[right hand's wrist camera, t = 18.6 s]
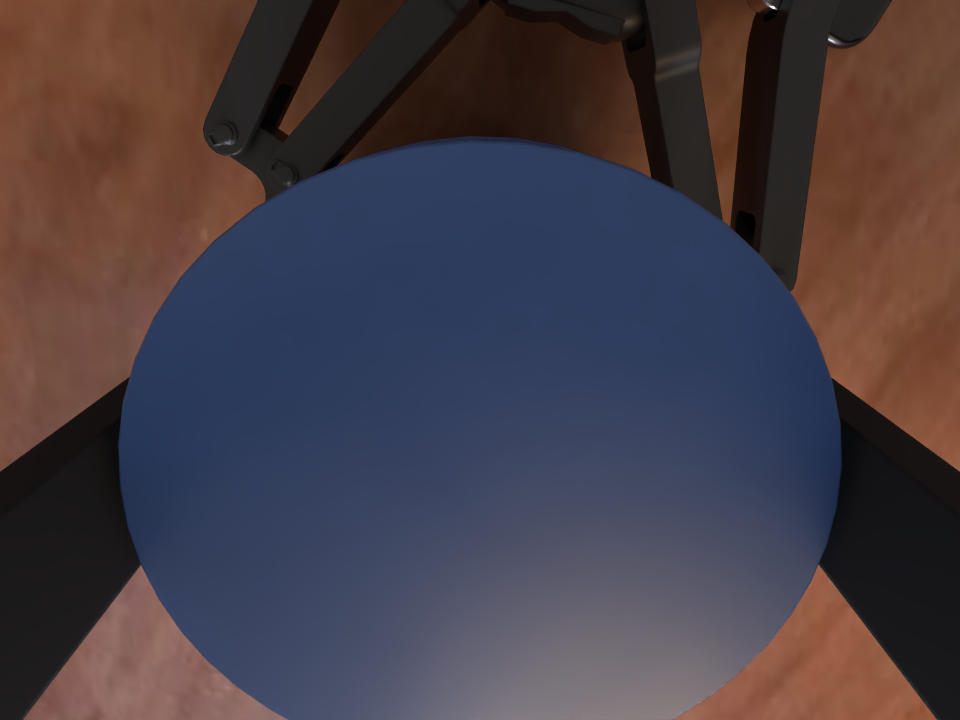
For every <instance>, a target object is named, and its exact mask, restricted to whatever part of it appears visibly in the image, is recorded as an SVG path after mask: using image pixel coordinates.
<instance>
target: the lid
mask: <svg viewBox="0 0 960 720" xmlns="http://www.w3.org/2000/svg"><path fill="white" fill-rule="evenodd" d="M118 455H119V479H120V490H121V495H122V500H123V505H124V511H125V516H126V521H127V526H128V529H129V532H130V535H131V538H132V540H133V543H134V546H135V549H136V552H137V555H138V558H139V560H140V563H141V565H142V567H143V569H144V571H145V573H146V575H147V577H148V579H149V581H150V583H151V585H152V587H153V589H154V591H155V593H156V595H157V597H158V599H159V600H160V602H161V603H162V605H163V606H164V607H165V609H166V610H167V612H168V613H169V615H170V616H171V618H172V619H173V620H174V622H175V623H176V625H177V626H178V628H179V629H180V630H181V632H182V633H183V634H184V635H185V636H186V637H187V639H188V640H189V641H190V642H191V643H192V644H193V645H194V646H195V647H196V649H197V650H198V651H199V652H200V653H201V654H202V655H203V656H204V658H205V659H206V660H207V661H208V662H209V663H211V664H212V665H213V666H214V667H215V668H216V669H217V670H218V671H220V672H221V673H222V674H223V675H224V676H225V677H226V678H228V679H229V680H230V681H231V682H232V683H233V684H234V685H235V686H237V687H238V688H239V689H241V690H242V691H244V692H245V693H247V694H248V695H249V696H251V697H252V698H254V699H255V700H257V701H258V702H259V703H261V704H262V705H264V706H265V707H267V708H268V709H270V710H272V711H273V712H275V713H277V714H279V715H281V716H282V717H284V718H286V719H288V720H673V719H675V718H677V717H678V716H680V715H681V714H683V713H685V712H686V711H688V710H689V709H691V708H693V707H694V706H696V705H697V704H699V703H701V702H702V701H704V700H705V699H707V698H709V697H710V696H711V695H712V694H714V693H715V692H716V691H717V690H719V689H720V688H721V687H723V686H724V685H725V684H726V683H728V682H729V681H730V680H731V679H733V678H734V677H735V676H736V675H738V674H739V673H740V672H741V671H742V670H743V669H744V668H745V667H746V666H747V665H748V664H749V663H750V662H751V661H752V660H753V659H754V658H755V657H756V656H757V655H758V654H759V653H760V652H761V651H762V650H763V649H764V648H765V647H766V646H767V645H768V644H769V642H770V641H771V640H772V639H773V637H774V636H775V635H776V633H777V632H778V631H779V630H780V628H781V627H782V626H783V625H784V623H785V622H786V621H787V619H788V618H789V617H790V616H791V614H792V612H793V611H794V609H795V607H796V606H797V604H798V602H799V601H800V599H801V597H802V596H803V594H804V592H805V591H806V589H807V587H808V586H809V584H810V582H811V580H812V578H813V576H814V573H815V571H816V569H817V566H818V564H819V562H820V559H821V557H822V555H823V552H824V550H825V548H826V545H827V542H828V538H829V535H830V531H831V527H832V524H833V520H834V516H835V512H836V509H837V503H838V495H839V486H840V478H841V469H842V453H841V426H840V419H839V414H838V409H837V403H836V398H835V393H834V388H833V383H832V379H831V376H830V373H829V371H828V368H827V365H826V362H825V360H824V357H823V354H822V351H821V349H820V346H819V343H818V341H817V338H816V336H815V334H814V332H813V331H812V329H811V327H810V325H809V323H808V322H807V320H806V318H805V316H804V314H803V313H802V311H801V309H800V307H799V305H798V304H797V302H796V300H795V298H794V297H793V295H792V294H791V293H790V291H789V290H788V289H787V288H786V286H785V285H784V284H783V283H782V281H781V280H780V279H779V277H778V276H777V275H776V274H775V272H774V271H773V270H772V269H771V267H770V266H769V265H768V263H767V262H766V261H765V260H764V258H763V257H762V256H761V255H759V254H758V253H757V252H756V251H755V250H754V249H753V248H752V247H751V246H750V245H749V244H748V243H747V242H746V241H744V240H743V239H742V238H741V237H740V236H739V235H738V234H737V233H736V232H735V231H734V230H733V229H732V228H731V227H729V226H728V225H727V224H726V223H725V222H723V221H722V220H721V219H719V218H718V217H716V216H715V215H713V214H712V213H710V212H709V211H707V210H706V209H705V208H703V207H702V206H700V205H699V204H697V203H696V202H694V201H693V200H691V199H690V198H688V197H687V196H686V195H684V194H683V193H681V192H679V191H677V190H675V189H673V188H671V187H668V186H666V185H664V184H662V183H660V182H658V181H656V180H654V179H652V178H650V177H648V176H646V175H644V174H642V173H640V172H638V171H636V170H634V169H631V168H628V167H625V166H622V165H619V164H616V163H612V162H609V161H606V160H603V159H600V158H597V157H594V156H591V155H588V154H585V153H582V152H578V151H575V150H572V149H569V148H566V147H563V146H560V145H554V144H548V143H542V142H537V141H531V140H525V139H519V138H511V137H482V136H464V137H454V138H445V139H435V140H426V141H420V142H416V143H412V144H408V145H404V146H400V147H396V148H392V149H388V150H384V151H380V152H376V153H373V154H370V155H367V156H363V157H360V158H357V159H354V160H351V161H349V162H346V163H344V164H341V165H339V166H336V167H334V168H331V169H329V170H326V171H324V172H322V173H319V174H317V175H314V176H312V177H309V178H307V179H304V180H302V181H300V182H298V183H297V184H295V185H293V186H291V187H290V188H288V189H286V190H285V191H283V192H281V193H279V194H278V195H276V196H274V197H273V198H271V199H269V200H268V201H266V202H264V203H262V204H261V205H259V206H257V207H256V208H254V209H253V210H252V211H250V212H249V213H248V214H247V215H245V216H244V217H243V218H242V219H240V220H239V221H238V222H237V223H235V224H234V225H233V226H232V227H230V228H229V229H228V230H227V231H225V232H224V233H223V234H222V235H221V236H219V237H218V238H217V239H216V240H214V241H213V242H212V244H211V245H210V246H209V247H208V248H207V249H206V250H205V251H204V252H203V253H202V254H201V256H200V257H199V258H198V259H197V260H196V261H195V262H194V263H193V264H192V265H191V266H190V268H189V269H188V270H187V271H186V272H185V273H184V274H183V275H182V276H181V277H180V279H179V280H178V282H177V283H176V285H175V286H174V288H173V289H172V291H171V292H170V294H169V295H168V297H167V298H166V300H165V301H164V303H163V304H162V306H161V307H160V309H159V310H158V312H157V313H156V315H155V316H154V318H153V321H152V323H151V325H150V327H149V329H148V331H147V334H146V336H145V338H144V340H143V342H142V345H141V347H140V349H139V351H138V353H137V355H136V358H135V361H134V364H133V368H132V371H131V375H130V378H129V382H128V386H127V389H126V393H125V396H124V400H123V406H122V415H121V424H120V432H119V441H118Z"/></svg>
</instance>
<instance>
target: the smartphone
mask: <svg viewBox="0 0 960 720" xmlns="http://www.w3.org/2000/svg"><path fill="white" fill-rule="evenodd" d="M891 1H892V0H841V1H840V4H839V6H838V8H837V10H836V13H835V15H834V17H833V19H832V21H831V24H830V31H829V39H828V46H830V47H833V48H837V49H846V48H850V47H853V46H855V45H857V44H859V43H860V42H862V41H863V40H864V39H865V38H866V37H867V36H868V35H869V34H870V33H871V32H872V31H873V29H874V28H875V27H876V25H877V24H878V22H879V21H880V19H881V17H882V16H883V14H884V12H885V11H886V9H887V8H888V6H889V4H890V3H891Z"/></svg>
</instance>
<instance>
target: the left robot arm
mask: <svg viewBox="0 0 960 720" xmlns="http://www.w3.org/2000/svg"><path fill="white" fill-rule="evenodd" d="M489 1H490V0H407V1H406V2H405V3H404V4H403V5H402V6H401V8H400V9H399V10H398V11H397V12H396V13H395V14H394V16H393V17H392V18H391V19H390V20H389V21H388V23H387V24H386V25H385V26H384V27H383V28H382V29H381V31H380V32H379V33H378V34H377V35H376V36H375V38H374V39H373V40H372V41H371V42H370V43H369V44H368V46H367V47H366V48H365V49H364V50H363V51H362V53H361V54H360V55H359V56H358V57H357V58H356V59H355V61H354V62H353V63H352V64H351V65H350V66H349V67H348V69H347V70H346V71H345V72H344V73H343V74H342V76H341V77H340V78H339V79H338V80H337V81H336V82H335V84H334V85H333V86H332V87H331V88H330V89H329V91H328V92H327V93H326V94H325V95H324V96H323V97H322V99H321V100H320V101H319V102H318V103H317V104H316V106H315V107H314V108H313V109H312V110H311V111H310V112H309V114H308V115H307V116H306V117H305V118H304V119H303V121H302V122H301V123H300V124H299V125H298V126H297V127H296V129H295V130H294V131H293V132H292V133H291V134H290V135H289V136H288V135H287V134H285V133H284V132H282V131H281V130H280V129H278V128H279V126H280V124H281V122H282V120H283V118H284V116H285V114H286V112H287V109H288V107H289V105H290V103H291V101H292V99H293V97H294V95H295V93H296V91H297V89H298V87H299V85H300V83H301V80H302V78H303V76H304V74H305V72H306V70H307V68H308V66H309V64H310V62H311V60H312V58H313V56H314V53H315V51H316V49H317V47H318V45H319V43H320V41H321V39H322V37H323V35H324V33H325V31H326V29H327V27H328V24H329V22H330V20H331V18H332V16H333V14H334V12H335V10H336V8H337V6H338V4H339V2H340V0H258V2H257V4H256V6H255V8H254V11H253V13H252V15H251V18H250V20H249V22H248V24H247V27H246V29H245V31H244V33H243V36H242V38H241V40H240V42H239V45H238V47H237V49H236V51H235V54H234V56H233V58H232V61H231V63H230V65H229V67H228V70H227V72H226V74H225V76H224V79H223V81H222V83H221V85H220V88H219V90H218V92H217V94H216V97H215V99H214V101H213V104H212V106H211V108H210V110H209V113H208V115H207V117H206V119H205V122H204V127H203V132H204V138H205V140H206V142H207V143H208V145H209V147H210V148H212V149H213V150H214V151H215V152H216V153H219V154H221V155H224V156H230V157H232V158H233V159H235V160H236V161H238V162H239V163H241V164H242V165H244V166H245V167H247V168H248V169H250V170H251V171H252V172H254V173H255V174H256V175H257V176H258V177H259V179H260V180H261V182H262V184H263V186H264V189H265V193H266V201H268V200H269V199H271V198H273V197H274V196H276V195H278V194H279V193H281V192H283V191H285V190H286V189H288V188H290V187H291V186H293V185H295V184H297V183H298V182H300V181H302V180H304V179H307V178H309V177H312V176H314V175H317V174H319V173H322V172H324V171H326V170H329V169H331V168H334V167H336V166H337V165H338V164H339V163H340V162H341V161H342V160H343V159H344V158H345V157H346V156H347V154H348V153H349V152H350V151H351V150H352V149H353V148H354V147H355V146H356V145H357V143H358V142H359V141H360V140H361V139H362V138H363V137H364V136H365V135H366V134H367V132H368V131H369V130H370V129H371V128H372V127H373V126H374V125H375V124H376V122H377V121H378V120H379V119H380V118H381V117H382V116H383V115H384V114H385V113H386V111H387V110H388V109H389V108H390V107H391V106H392V105H393V104H394V103H395V102H396V100H397V99H398V98H399V97H400V96H401V95H402V94H403V93H404V92H405V91H406V89H407V88H408V87H409V86H410V85H411V84H412V83H413V82H414V81H415V80H416V78H417V77H418V76H419V75H420V74H421V73H422V72H423V71H424V70H425V68H426V67H427V66H428V65H429V64H430V63H431V62H432V61H433V60H434V59H435V57H436V56H437V55H438V54H439V53H440V52H441V51H442V50H443V49H444V48H445V46H446V45H447V44H448V43H449V42H450V41H451V40H452V39H453V38H454V37H455V35H456V34H457V33H458V32H459V31H461V30H462V29H463V28H464V27H466V26H467V25H468V24H469V23H470V22H471V20H472V19H473V18H474V17H475V16H476V15H477V14H478V13H479V12H480V11H481V9H482V8H483V7H484V6H485V5H486V4H487V3H488V2H489ZM746 1H747V3H748V5H749V6H750V8H751V9H752V10H754V11H755V12H756V14H755V17H754V20H753V24H752V28H751V32H750V36H749V41H748V47H747V54H746V64H745V75H744V86H743V97H742V107H741V118H740V129H739V139H738V150H737V161H736V172H735V182H734V193H733V204H732V215H731V225H730V227H731V228H732V229H733V230H734V231H735V232H736V233H737V234H738V235H739V236H740V237H741V238H742V239H743V240H744V241H746V242H747V243H748V244H749V245H750V246H751V247H752V248H753V249H754V250H755V251H756V252H757V253H758V254H759V255H761V256H762V257H763V258H764V260H765V261H766V262H767V263H768V265H769V266H770V267H771V269H772V270H773V271H774V272H775V274H776V275H777V276H778V277H779V279H780V280H781V281H782V283H783V284H784V285H785V286H786V288H787V289H788V290H789V291H790V292H791V291H792V289H793V288H794V286H795V283H796V278H797V271H798V263H799V256H800V248H801V241H802V234H803V226H804V219H805V211H806V204H807V196H808V189H809V181H810V174H811V166H812V159H813V151H814V144H815V136H816V129H817V121H818V114H819V106H820V99H821V91H822V84H823V76H824V69H825V61H826V54H827V46H828V39H829V31H830V24H831V21H832V19H833V17H834V15H835V13H836V10H837V8H838V6H839V4H840V1H841V0H746ZM493 2H494V3H496V4H497V5H498V6H499V7H500V8H502V9H503V10H506V11H505V15H506V16H510V17H513V18H516V19H520V20H523V21H526V22H557V23H559V24H561V25H562V26H564V27H565V28H567V29H569V30H570V31H572V32H573V33H575V34H576V35H578V36H579V37H581V38H584V39H587V40H590V41H594V42H597V43H601V44H604V45H606V44H608V43H610V42H617V41H622V45H623V51H624V56H625V61H626V66H627V70H628V73H629V76H630V78H631V80H632V81H633V84H634V88H635V93H636V98H637V104H638V109H639V114H640V119H641V125H642V130H643V135H644V140H645V146H646V151H647V156H648V161H649V167H650V172H651V177H652V179H654V180H656V181H658V182H660V183H662V184H664V185H666V186H668V187H671V188H673V189H675V190H677V191H679V192H681V193H683V194H684V195H686V196H687V197H688V198H690V199H691V200H693V201H694V202H696V203H697V204H699V205H700V206H702V207H703V208H705V209H706V210H707V211H709V212H710V213H712V214H713V215H715V216H716V217H718V218H719V219H721V220H722V213H721V207H720V200H719V194H718V188H717V181H716V175H715V168H714V162H713V155H712V149H711V143H710V136H709V130H708V123H707V117H706V111H705V104H704V98H703V91H702V85H701V79H700V72H699V61H700V57H701V49H702V46H701V37H700V30H699V23H698V17H697V10H696V4H695V0H493ZM722 221H723V220H722Z"/></svg>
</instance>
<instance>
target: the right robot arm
mask: <svg viewBox="0 0 960 720" xmlns="http://www.w3.org/2000/svg"><path fill="white" fill-rule="evenodd" d="M129 378H130V377H129ZM129 378H128V379H126V380H125V381H123V382H122V383H121V384H119V385H118V386H117V387H115V388H114V389H113V390H111V391H110V392H108V393H107V394H106V395H104V396H103V397H102V398H100V399H99V400H98V401H96V402H95V403H93V404H92V405H91V406H89V407H88V408H87V409H85V410H84V411H83V412H81V413H80V414H78V415H77V416H76V417H74V418H73V419H72V420H70V421H69V422H68V423H66V424H65V425H63V426H62V427H61V428H59V429H58V430H57V431H55V432H54V433H53V434H51V435H50V436H48V437H47V438H46V439H44V440H43V441H42V442H40V443H39V444H38V445H36V446H35V447H33V448H32V449H31V450H29V451H28V452H27V453H25V454H24V455H23V456H21V457H20V458H18V459H17V460H16V461H14V462H13V463H12V464H10V465H9V466H8V467H6V468H5V469H3V470H2V471H1V472H0V720H23V719H24V717H25V716H26V715H27V713H28V712H29V711H30V710H31V708H32V707H33V706H34V704H35V703H36V702H37V700H38V699H39V698H40V696H41V695H42V694H43V693H44V691H45V690H46V689H47V687H48V686H49V685H50V683H51V682H52V681H53V679H54V678H55V677H56V675H57V674H58V673H59V672H60V670H61V669H62V668H63V666H64V665H65V664H66V662H67V661H68V660H69V658H70V657H71V656H72V654H73V653H74V652H75V651H76V649H77V648H78V647H79V645H80V644H81V643H82V641H83V640H84V639H85V637H86V636H87V635H88V633H89V632H90V631H91V630H92V628H93V627H94V626H95V624H96V623H97V622H98V620H99V619H100V618H101V616H102V615H103V614H104V613H105V611H106V610H107V609H108V607H109V606H110V605H111V603H112V602H113V601H114V599H115V598H116V597H117V595H118V594H119V593H120V592H121V590H122V589H123V588H124V586H125V585H126V584H127V582H128V581H129V580H130V578H131V577H132V576H133V574H134V573H135V572H136V571H137V569H138V568H139V567H140V565H141V563H140V560H139V558H138V555H137V552H136V549H135V546H134V543H133V540H132V538H131V535H130V532H129V529H128V526H127V521H126V516H125V511H124V505H123V500H122V495H121V490H120V479H119V455H118V441H119V432H120V424H121V415H122V406H123V400H124V396H125V393H126V389H127V386H128V382H129ZM831 379H832V378H831ZM832 383H833V388H834V393H835V398H836V403H837V409H838V414H839V419H840V426H841V453H842V469H841V478H840V486H839V495H838V503H837V509H836V512H835V516H834V520H833V524H832V527H831V531H830V535H829V538H828V542H827V545H826V548H825V550H824V552H823V555H822V557H821V559H820V562H819V565H820V567H821V568H822V569H823V571H824V572H825V573H826V574H827V576H828V577H829V578H830V580H831V581H832V582H833V584H834V585H835V586H836V588H837V589H838V590H839V592H840V593H841V594H842V595H843V597H844V598H845V599H846V601H847V602H848V603H849V605H850V606H851V607H852V609H853V610H854V611H855V613H856V614H857V615H858V616H859V618H860V619H861V620H862V622H863V623H864V624H865V626H866V627H867V628H868V630H869V631H870V632H871V634H872V635H873V636H874V637H875V639H876V640H877V641H878V643H879V644H880V645H881V647H882V648H883V649H884V651H885V652H886V653H887V654H888V656H889V657H890V658H891V660H892V661H893V662H894V664H895V665H896V666H897V668H898V669H899V670H900V672H901V673H902V674H903V675H904V677H905V678H906V679H907V681H908V682H909V683H910V685H911V686H912V687H913V689H914V690H915V691H916V693H917V694H918V695H919V696H920V698H921V699H922V700H923V702H924V703H925V704H926V706H927V707H928V708H929V710H930V711H931V712H932V713H933V715H934V716H935V717H936V719H937V720H960V472H959V471H958V470H957V469H955V468H954V467H952V466H951V465H950V464H948V463H947V462H946V461H944V460H943V459H942V458H940V457H939V456H937V455H936V454H935V453H933V452H932V451H931V450H929V449H928V448H927V447H925V446H924V445H922V444H921V443H920V442H918V441H917V440H916V439H914V438H913V437H912V436H910V435H909V434H907V433H906V432H905V431H903V430H902V429H901V428H899V427H898V426H897V425H895V424H894V423H892V422H891V421H890V420H888V419H887V418H886V417H884V416H883V415H882V414H880V413H879V412H877V411H876V410H875V409H873V408H872V407H871V406H869V405H868V404H867V403H865V402H864V401H862V400H861V399H860V398H858V397H857V396H856V395H854V394H853V393H852V392H850V391H849V390H847V389H846V388H845V387H843V386H842V385H841V384H839V383H838V382H837V381H835V380H834V379H832Z"/></svg>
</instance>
